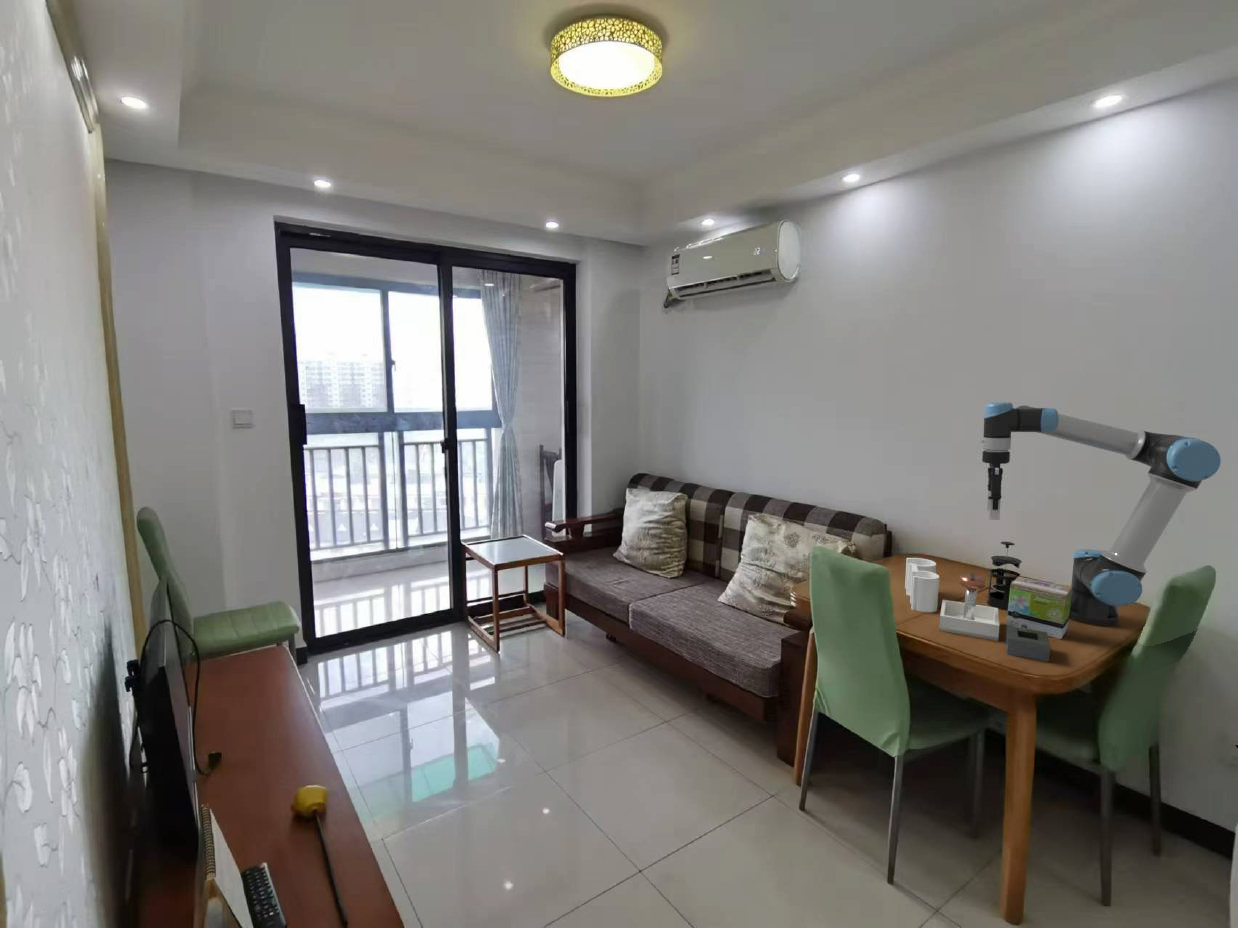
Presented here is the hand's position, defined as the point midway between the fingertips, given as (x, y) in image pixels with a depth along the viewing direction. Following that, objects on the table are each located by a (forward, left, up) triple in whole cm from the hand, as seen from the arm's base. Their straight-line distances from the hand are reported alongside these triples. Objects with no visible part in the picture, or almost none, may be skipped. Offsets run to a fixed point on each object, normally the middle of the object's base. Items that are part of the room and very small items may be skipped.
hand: (992, 515), depth 195 cm
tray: (+5, +10, -36) cm, 37 cm away
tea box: (-14, +1, -36) cm, 39 cm away
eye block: (-10, +22, -36) cm, 43 cm away
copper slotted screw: (+5, +10, -35) cm, 36 cm away
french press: (-5, -17, -36) cm, 40 cm away
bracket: (+20, -9, -36) cm, 42 cm away
